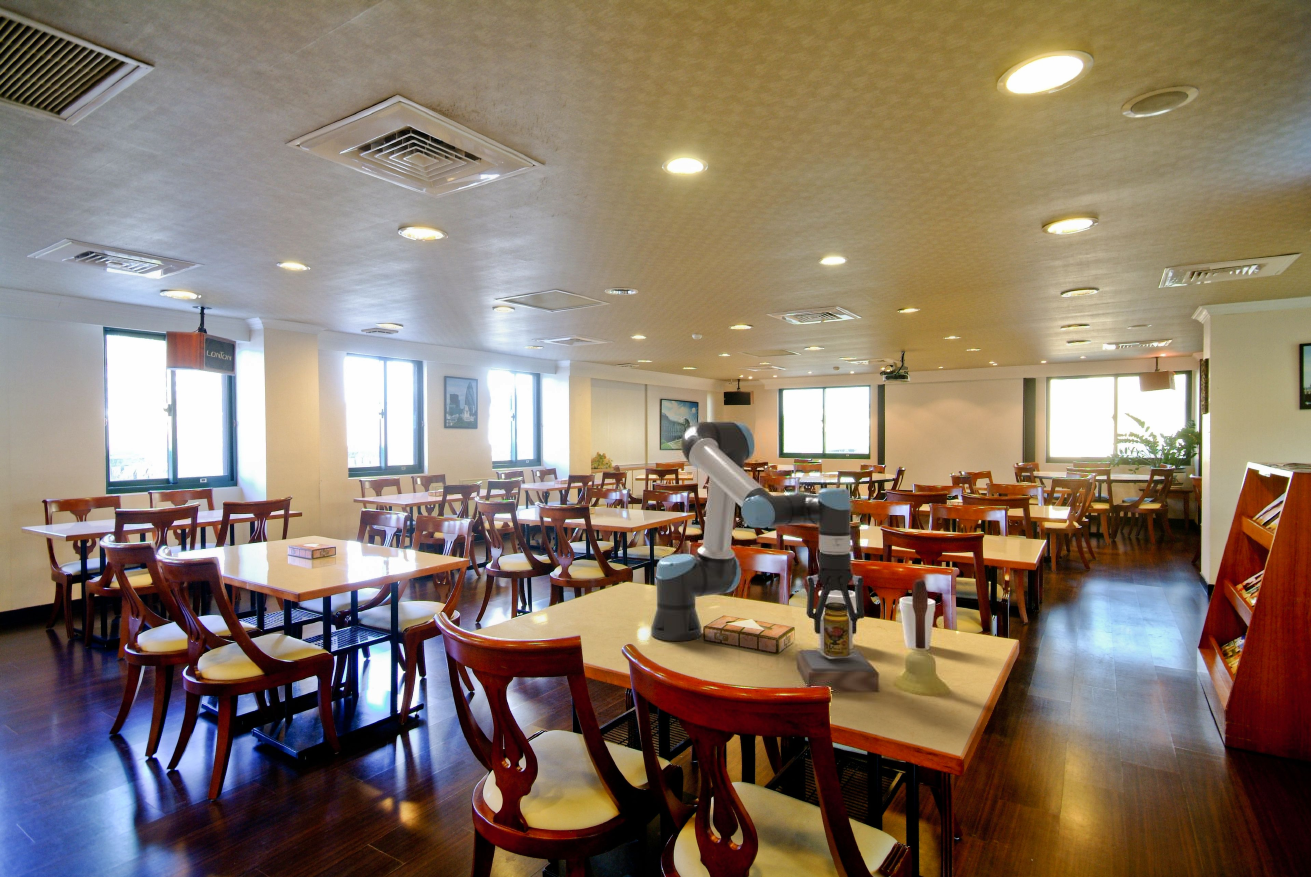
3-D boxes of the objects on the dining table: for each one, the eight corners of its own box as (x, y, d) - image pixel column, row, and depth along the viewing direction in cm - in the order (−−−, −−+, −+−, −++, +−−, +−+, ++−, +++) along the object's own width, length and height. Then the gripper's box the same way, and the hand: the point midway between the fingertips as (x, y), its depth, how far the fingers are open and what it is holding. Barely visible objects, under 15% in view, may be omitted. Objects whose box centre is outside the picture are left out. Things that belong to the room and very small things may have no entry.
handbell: (950, 698, 151) (949, 587, 151) (892, 692, 155) (891, 583, 156) (947, 680, 163) (946, 577, 163) (893, 674, 167) (892, 573, 167)
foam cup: (925, 653, 183) (924, 606, 183) (893, 646, 190) (893, 600, 190) (941, 646, 189) (941, 600, 189) (910, 639, 196) (910, 595, 196)
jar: (853, 640, 196) (853, 588, 196) (860, 651, 186) (860, 596, 186) (816, 639, 197) (816, 588, 197) (821, 650, 187) (821, 596, 187)
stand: (808, 691, 156) (808, 669, 156) (796, 668, 172) (796, 648, 172) (878, 691, 156) (878, 670, 156) (860, 668, 172) (860, 648, 172)
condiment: (829, 659, 159) (829, 608, 159) (813, 648, 167) (813, 600, 167) (857, 657, 161) (857, 606, 161) (840, 646, 169) (840, 598, 169)
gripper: (798, 554, 161) (798, 651, 161) (878, 554, 160) (879, 651, 160) (792, 549, 168) (793, 642, 168) (869, 549, 167) (870, 642, 167)
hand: (835, 646), depth 164 cm, fingers closed on condiment, 6 cm apart
